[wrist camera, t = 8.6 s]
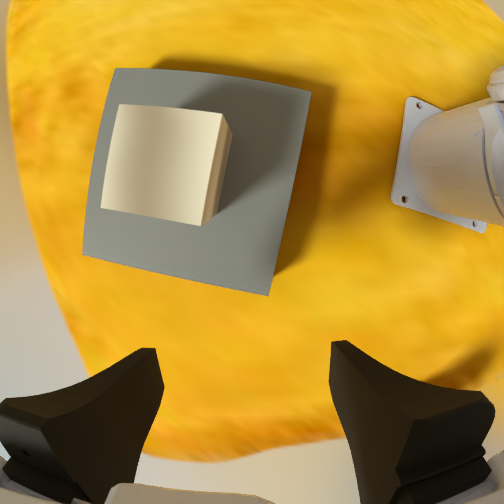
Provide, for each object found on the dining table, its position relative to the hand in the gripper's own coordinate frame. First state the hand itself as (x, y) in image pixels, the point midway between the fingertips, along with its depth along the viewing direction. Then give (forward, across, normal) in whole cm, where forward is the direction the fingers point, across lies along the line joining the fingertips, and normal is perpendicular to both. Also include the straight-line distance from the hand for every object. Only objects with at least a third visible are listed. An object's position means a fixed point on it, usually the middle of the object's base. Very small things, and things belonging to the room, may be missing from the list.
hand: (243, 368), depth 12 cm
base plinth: (+9, +3, -8) cm, 13 cm away
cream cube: (+6, +3, -8) cm, 11 cm away
